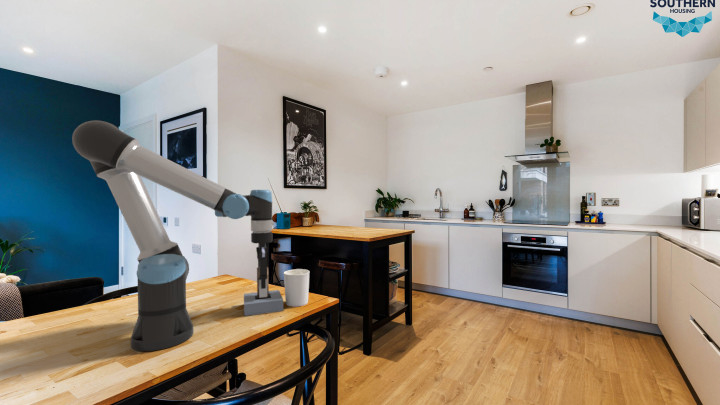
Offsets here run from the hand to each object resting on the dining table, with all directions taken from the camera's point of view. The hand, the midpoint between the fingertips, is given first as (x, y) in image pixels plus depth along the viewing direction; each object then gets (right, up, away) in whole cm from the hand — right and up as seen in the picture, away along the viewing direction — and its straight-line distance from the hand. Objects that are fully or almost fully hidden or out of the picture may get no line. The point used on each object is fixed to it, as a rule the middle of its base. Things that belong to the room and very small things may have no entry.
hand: (262, 294), depth 115 cm
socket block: (0, -5, 0) cm, 5 cm away
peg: (0, -4, 0) cm, 4 cm away
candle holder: (+12, -5, +5) cm, 13 cm away
